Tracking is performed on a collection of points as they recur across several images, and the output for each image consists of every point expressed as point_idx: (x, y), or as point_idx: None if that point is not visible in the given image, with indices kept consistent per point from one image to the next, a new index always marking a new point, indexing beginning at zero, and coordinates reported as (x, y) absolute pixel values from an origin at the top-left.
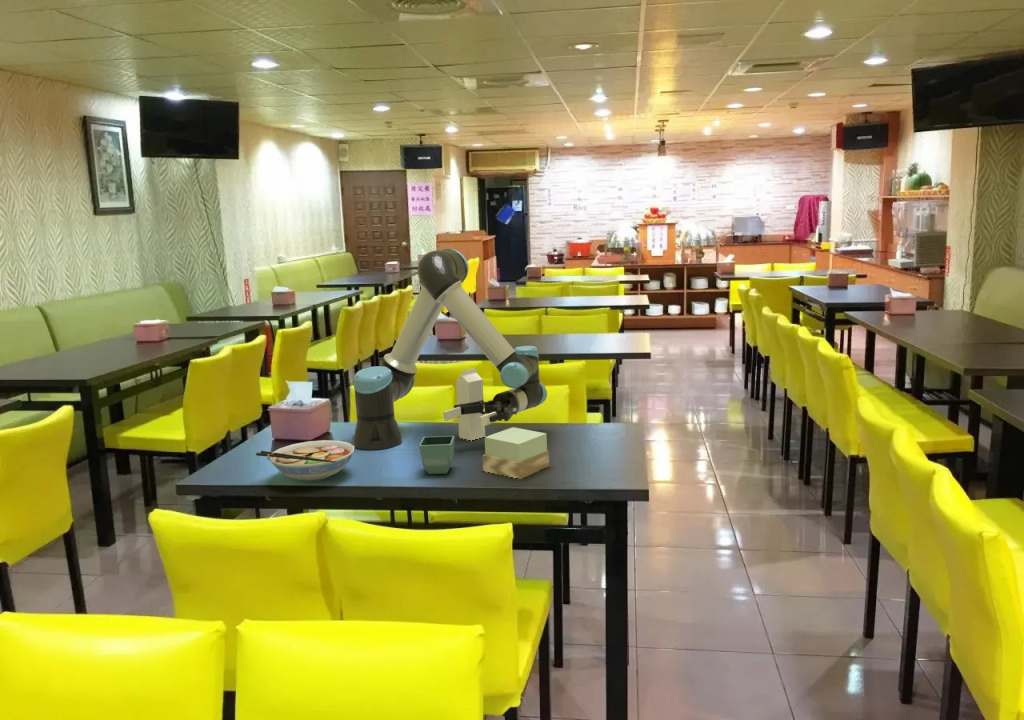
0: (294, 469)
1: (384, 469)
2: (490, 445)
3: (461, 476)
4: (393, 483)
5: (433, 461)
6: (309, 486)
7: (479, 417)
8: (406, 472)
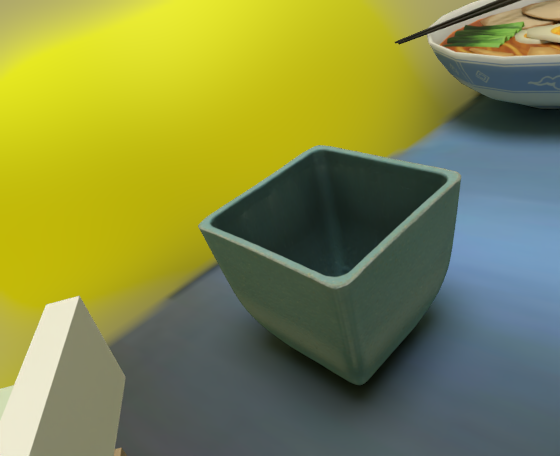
0: (461, 24)
1: (536, 205)
2: None
3: (210, 381)
4: None
5: (294, 248)
6: None
7: (81, 301)
8: None
